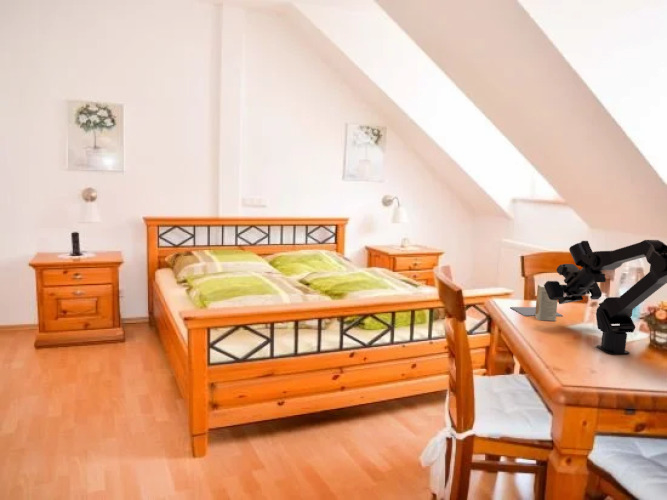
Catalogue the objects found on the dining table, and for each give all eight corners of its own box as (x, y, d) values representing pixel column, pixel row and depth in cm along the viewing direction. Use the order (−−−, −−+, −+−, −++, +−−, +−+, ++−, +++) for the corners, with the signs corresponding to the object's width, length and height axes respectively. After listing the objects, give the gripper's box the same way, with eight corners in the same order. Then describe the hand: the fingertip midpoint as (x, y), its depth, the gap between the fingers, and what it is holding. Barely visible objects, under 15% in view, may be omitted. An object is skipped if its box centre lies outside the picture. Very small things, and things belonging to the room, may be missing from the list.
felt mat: (562, 316, 194) (562, 315, 194) (524, 316, 192) (524, 315, 192) (546, 308, 205) (546, 307, 205) (510, 308, 203) (510, 307, 203)
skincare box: (552, 318, 191) (555, 284, 189) (555, 321, 187) (559, 287, 185) (533, 316, 192) (537, 283, 190) (537, 320, 188) (540, 286, 186)
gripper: (600, 257, 176) (574, 282, 188) (550, 257, 172) (527, 283, 184) (614, 286, 170) (586, 310, 182) (563, 286, 165) (538, 311, 178)
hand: (559, 302), depth 182 cm, fingers closed
